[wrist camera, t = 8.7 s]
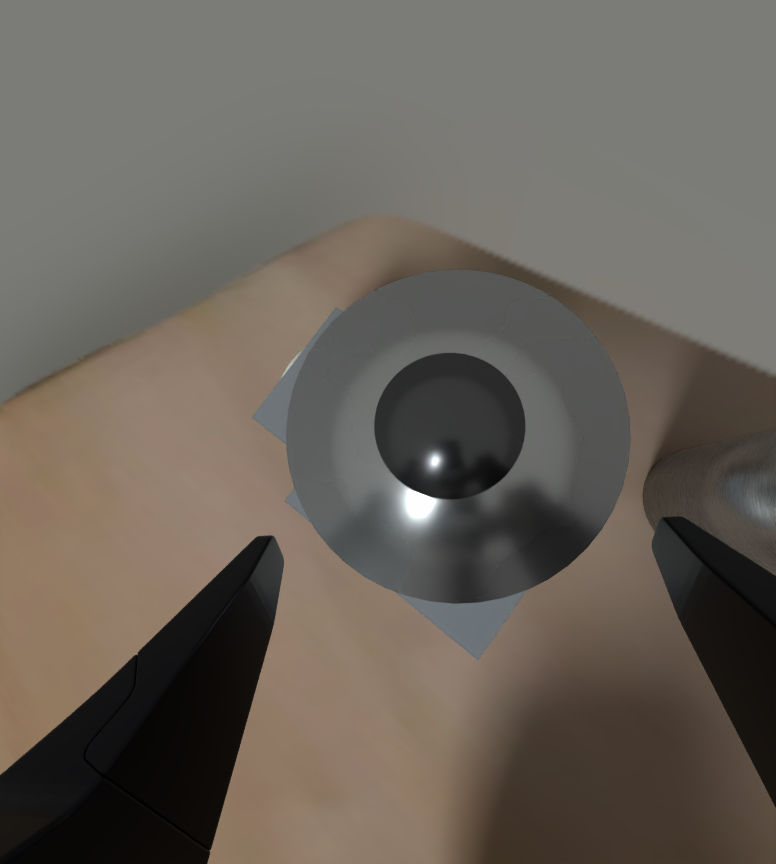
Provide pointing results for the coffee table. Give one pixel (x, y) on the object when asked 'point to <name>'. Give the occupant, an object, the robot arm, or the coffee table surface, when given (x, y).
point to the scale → (458, 621)
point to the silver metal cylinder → (458, 436)
